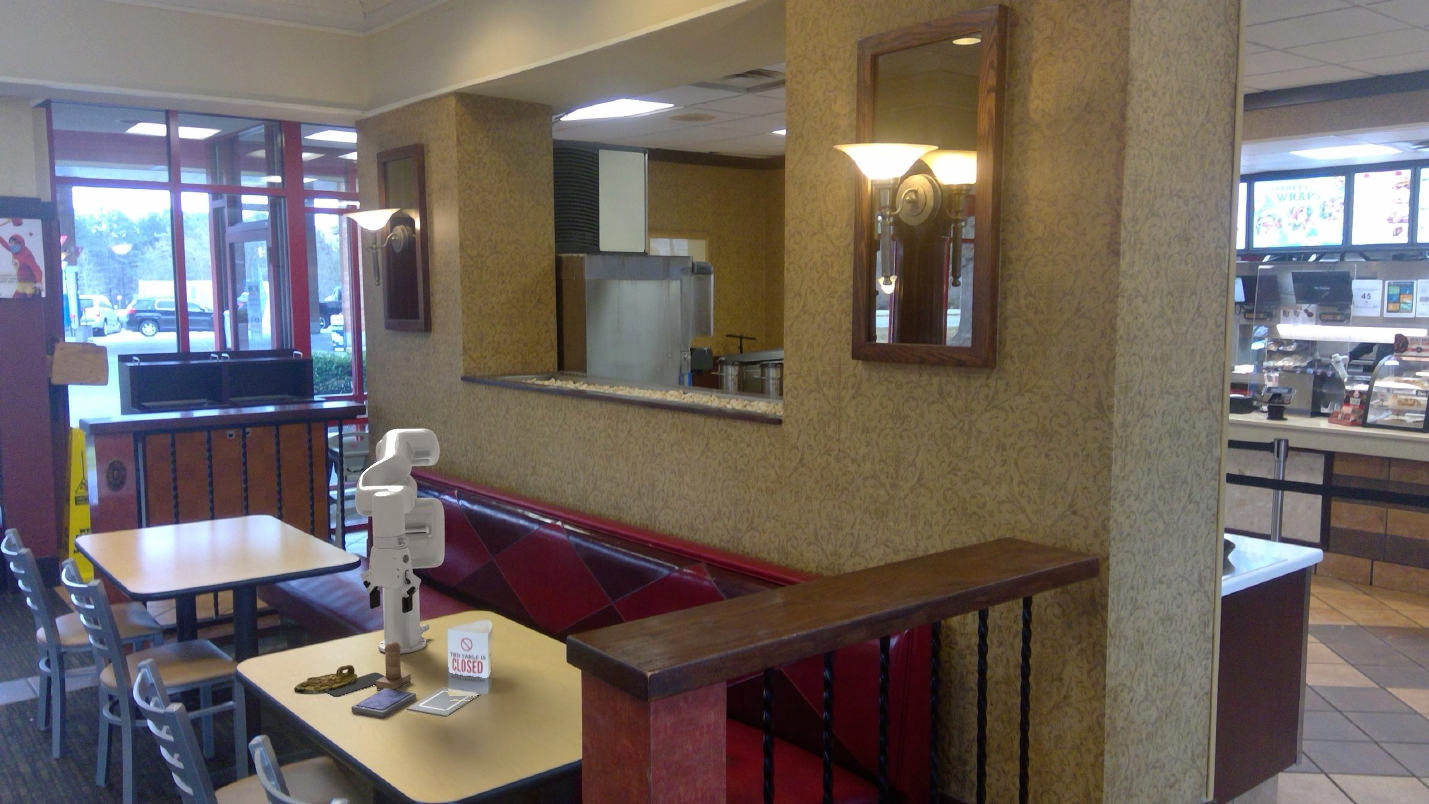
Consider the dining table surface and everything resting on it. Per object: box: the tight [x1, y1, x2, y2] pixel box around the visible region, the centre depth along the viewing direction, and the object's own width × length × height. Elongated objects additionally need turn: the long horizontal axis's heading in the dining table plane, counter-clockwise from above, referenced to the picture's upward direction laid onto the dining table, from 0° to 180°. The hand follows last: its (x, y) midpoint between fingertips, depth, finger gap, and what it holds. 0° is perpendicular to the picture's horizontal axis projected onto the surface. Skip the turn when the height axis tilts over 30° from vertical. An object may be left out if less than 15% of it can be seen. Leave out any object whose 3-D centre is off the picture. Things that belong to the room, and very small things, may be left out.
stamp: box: [375, 641, 412, 691], centre depth 251 cm, size 7×5×11 cm
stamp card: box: [406, 686, 477, 717], centre depth 241 cm, size 14×11×1 cm
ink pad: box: [351, 688, 417, 719], centre depth 239 cm, size 12×9×2 cm
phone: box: [324, 672, 385, 698], centre depth 251 cm, size 7×1×15 cm
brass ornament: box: [293, 664, 358, 695], centre depth 251 cm, size 9×5×15 cm
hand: (391, 609), depth 249 cm, fingers open, 9 cm apart
